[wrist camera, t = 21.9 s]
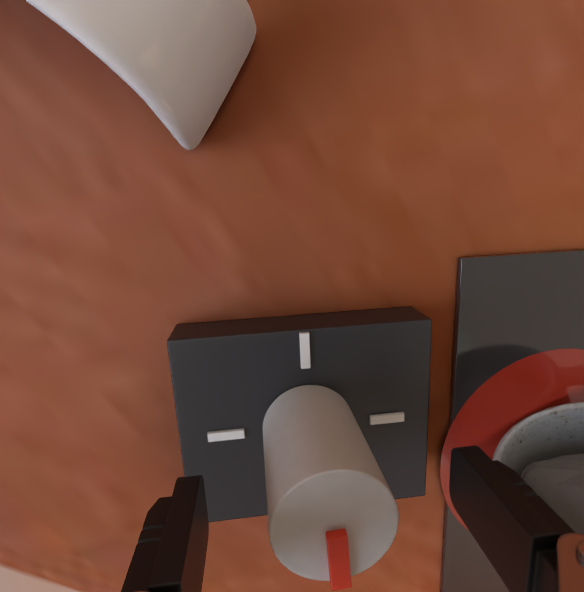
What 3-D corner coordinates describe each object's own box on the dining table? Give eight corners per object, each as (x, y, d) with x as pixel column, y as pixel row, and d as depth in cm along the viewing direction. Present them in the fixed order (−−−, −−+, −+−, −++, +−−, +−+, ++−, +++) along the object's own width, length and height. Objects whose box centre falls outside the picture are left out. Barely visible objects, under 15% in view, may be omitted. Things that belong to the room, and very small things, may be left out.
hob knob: (257, 390, 15) (262, 490, 10) (349, 378, 15) (402, 468, 10) (267, 472, 16) (276, 602, 11) (355, 458, 16) (405, 579, 11)
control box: (411, 305, 17) (434, 320, 15) (407, 466, 19) (427, 498, 17) (176, 323, 16) (165, 342, 14) (196, 490, 18) (189, 528, 16)
